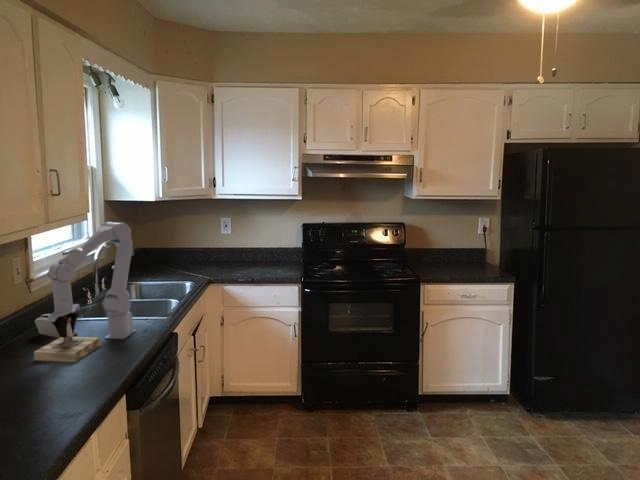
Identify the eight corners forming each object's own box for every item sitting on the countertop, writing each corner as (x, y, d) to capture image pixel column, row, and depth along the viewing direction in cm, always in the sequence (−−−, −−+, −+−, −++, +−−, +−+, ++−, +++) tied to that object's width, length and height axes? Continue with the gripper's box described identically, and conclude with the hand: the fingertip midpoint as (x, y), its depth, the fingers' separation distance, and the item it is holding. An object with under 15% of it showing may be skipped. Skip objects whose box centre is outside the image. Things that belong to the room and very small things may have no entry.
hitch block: (63, 344, 184) (62, 335, 183) (100, 345, 182) (99, 336, 181) (34, 360, 169) (33, 351, 168) (75, 361, 167) (74, 352, 166)
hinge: (79, 335, 193) (68, 314, 188) (69, 343, 189) (58, 322, 185) (51, 329, 200) (40, 309, 196) (41, 337, 197) (30, 316, 192)
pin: (67, 338, 176) (63, 316, 175) (76, 338, 176) (73, 316, 175) (59, 342, 173) (56, 319, 172) (69, 342, 172) (66, 319, 171)
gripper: (59, 303, 164) (64, 342, 167) (86, 292, 179) (89, 328, 181) (40, 303, 165) (45, 342, 167) (68, 292, 180) (71, 328, 182)
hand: (66, 335), depth 174 cm, fingers closed on pin, 3 cm apart
